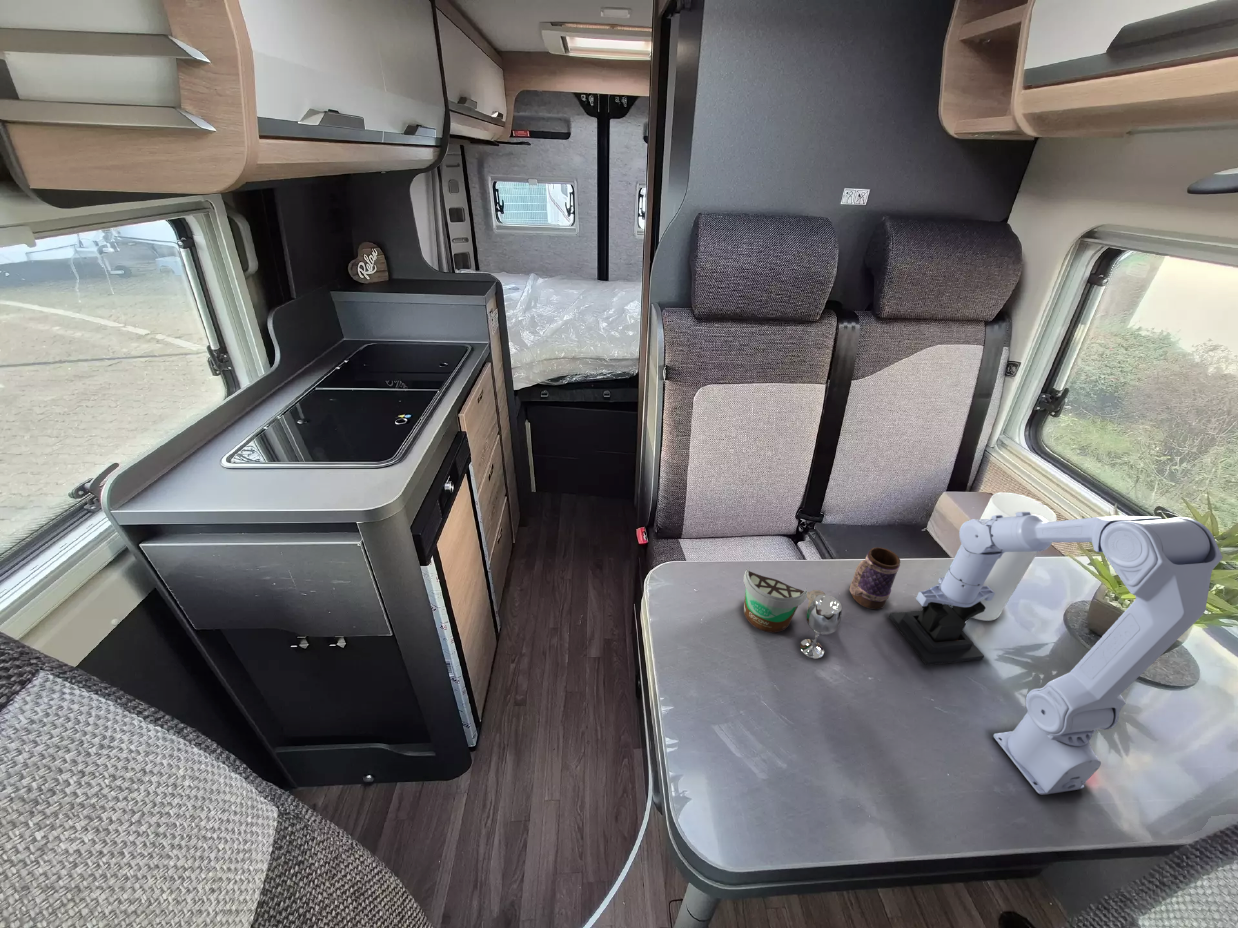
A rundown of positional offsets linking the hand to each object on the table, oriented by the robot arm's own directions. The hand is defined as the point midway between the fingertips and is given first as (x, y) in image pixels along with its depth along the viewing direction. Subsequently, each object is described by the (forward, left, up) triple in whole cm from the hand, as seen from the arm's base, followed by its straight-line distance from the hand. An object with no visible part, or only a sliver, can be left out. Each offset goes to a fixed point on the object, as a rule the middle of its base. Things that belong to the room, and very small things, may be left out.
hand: (939, 626), depth 102 cm
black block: (0, 0, -1) cm, 1 cm away
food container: (+7, +33, -3) cm, 34 cm away
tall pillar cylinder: (+8, -15, -3) cm, 17 cm away
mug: (+11, +9, -3) cm, 15 cm away
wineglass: (0, +26, -3) cm, 26 cm away
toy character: (+8, +21, -3) cm, 23 cm away
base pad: (0, 0, -3) cm, 3 cm away
